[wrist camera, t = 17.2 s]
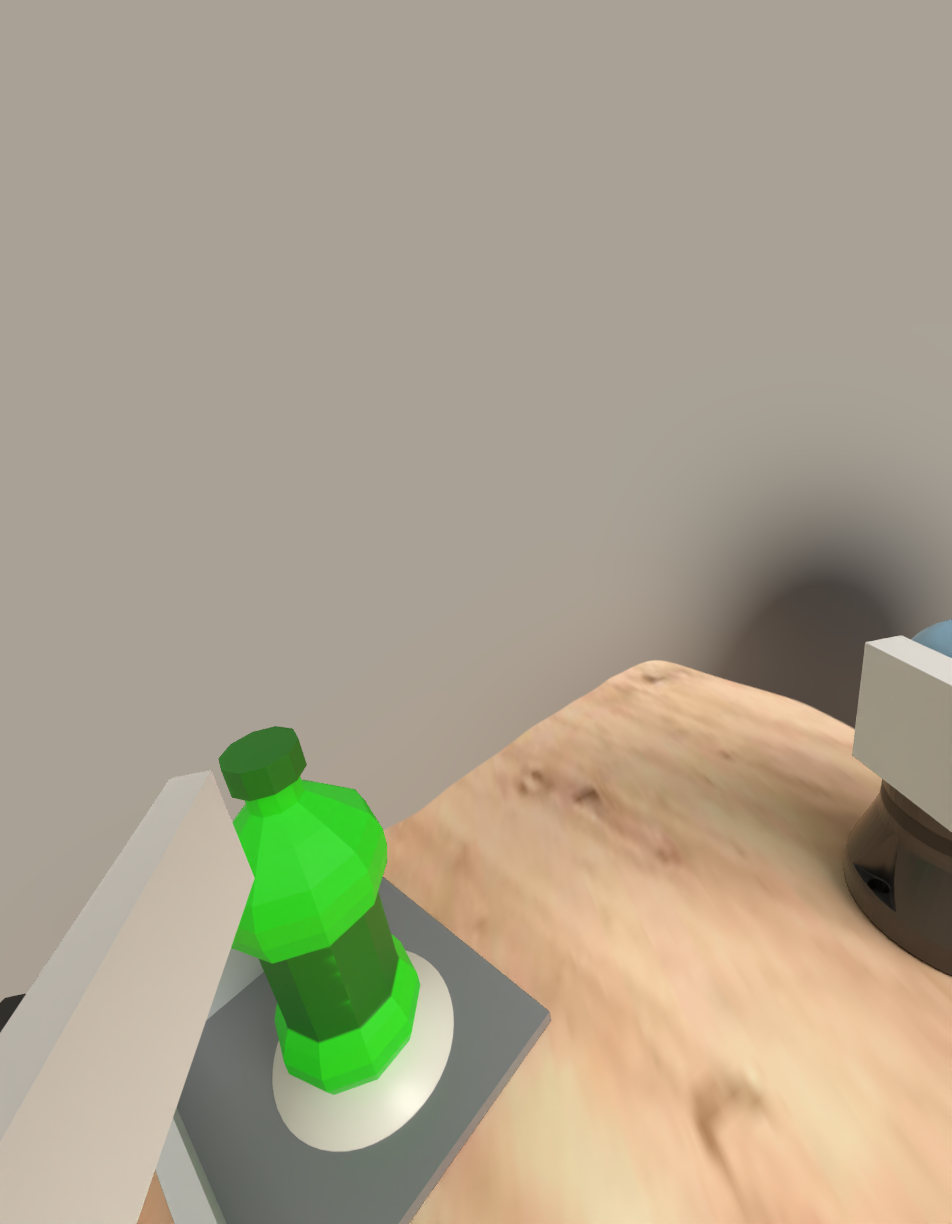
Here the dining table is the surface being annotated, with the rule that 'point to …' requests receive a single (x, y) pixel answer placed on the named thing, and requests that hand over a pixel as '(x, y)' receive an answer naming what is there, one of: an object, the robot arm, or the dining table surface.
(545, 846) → the dining table surface
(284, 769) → the plastic bottle
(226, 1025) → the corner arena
